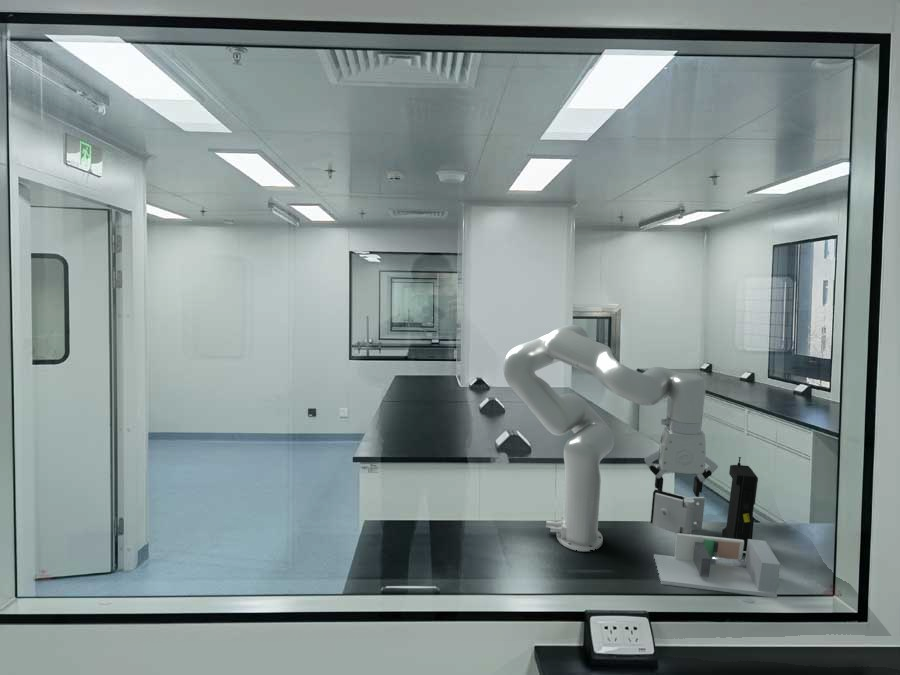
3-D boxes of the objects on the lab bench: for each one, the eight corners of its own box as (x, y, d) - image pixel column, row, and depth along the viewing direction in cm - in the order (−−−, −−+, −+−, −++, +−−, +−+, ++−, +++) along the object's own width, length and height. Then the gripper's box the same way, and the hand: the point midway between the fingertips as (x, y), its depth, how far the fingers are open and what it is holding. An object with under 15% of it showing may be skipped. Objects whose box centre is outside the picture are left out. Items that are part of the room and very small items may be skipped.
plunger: (700, 576, 135) (702, 556, 134) (693, 558, 142) (695, 539, 141) (748, 582, 133) (751, 561, 132) (739, 563, 140) (741, 544, 139)
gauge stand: (661, 584, 135) (664, 553, 133) (653, 557, 146) (656, 528, 144) (776, 597, 130) (781, 565, 129) (760, 569, 141) (764, 539, 139)
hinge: (701, 528, 160) (705, 496, 158) (702, 538, 155) (706, 505, 153) (650, 518, 165) (653, 488, 163) (650, 528, 160) (652, 496, 158)
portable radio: (753, 557, 146) (765, 470, 141) (728, 555, 147) (739, 468, 142) (744, 541, 153) (755, 457, 148) (720, 538, 155) (730, 455, 149)
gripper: (648, 428, 130) (642, 496, 133) (728, 434, 126) (719, 503, 130) (643, 417, 137) (638, 482, 141) (718, 422, 134) (711, 488, 137)
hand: (677, 492), depth 135 cm, fingers open, 8 cm apart
